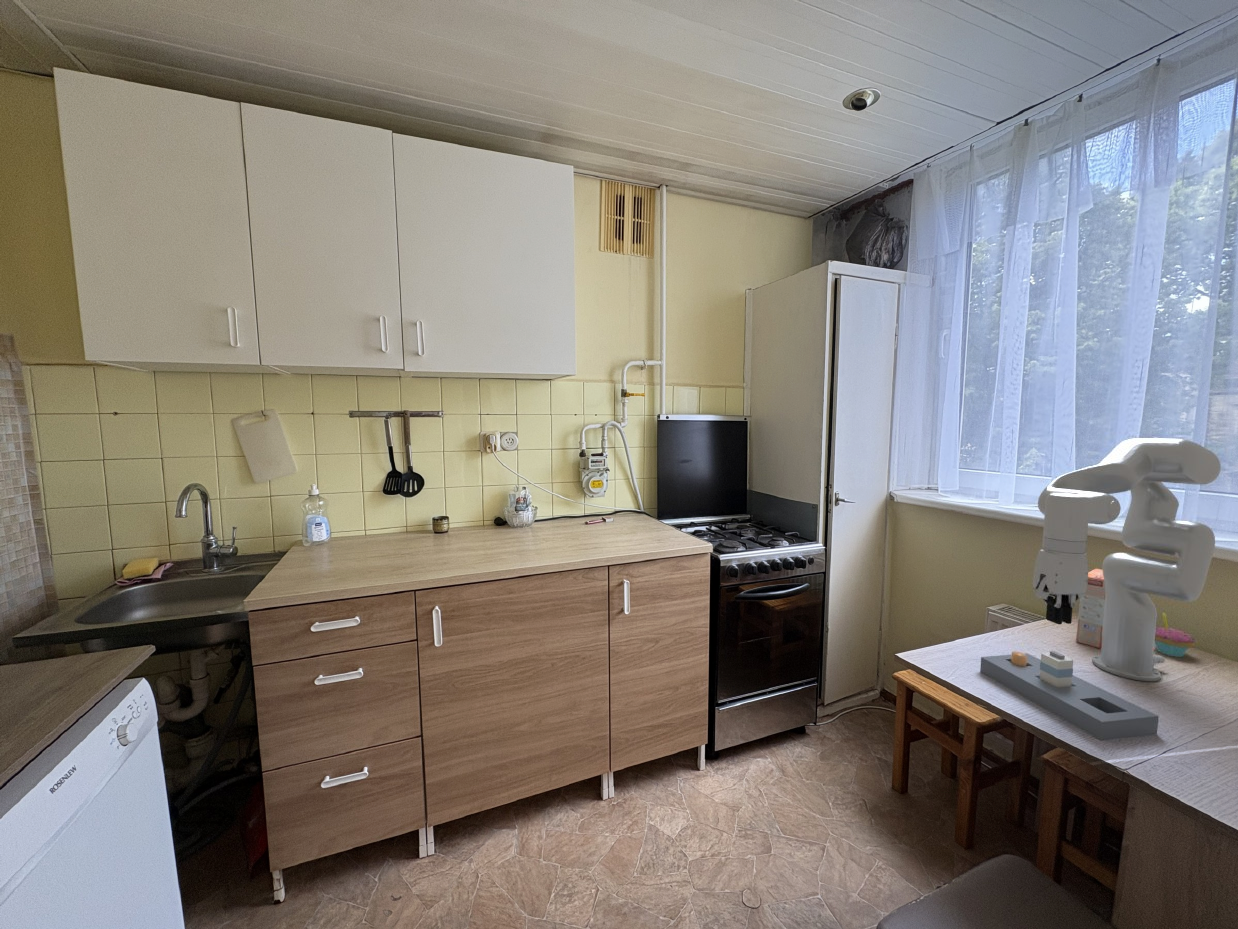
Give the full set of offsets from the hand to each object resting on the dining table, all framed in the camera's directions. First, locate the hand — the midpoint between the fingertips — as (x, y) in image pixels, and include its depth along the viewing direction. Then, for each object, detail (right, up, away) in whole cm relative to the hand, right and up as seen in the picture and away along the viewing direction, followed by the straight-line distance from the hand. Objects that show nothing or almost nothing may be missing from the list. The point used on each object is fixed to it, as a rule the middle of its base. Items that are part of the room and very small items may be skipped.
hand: (1058, 621), depth 113 cm
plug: (0, -19, +1) cm, 19 cm away
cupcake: (+55, -17, +24) cm, 62 cm away
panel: (0, -19, 0) cm, 19 cm away
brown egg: (-1, -18, +10) cm, 20 cm away
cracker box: (+41, -17, +32) cm, 55 cm away
